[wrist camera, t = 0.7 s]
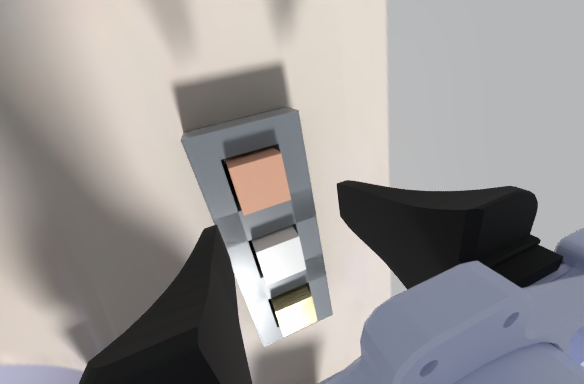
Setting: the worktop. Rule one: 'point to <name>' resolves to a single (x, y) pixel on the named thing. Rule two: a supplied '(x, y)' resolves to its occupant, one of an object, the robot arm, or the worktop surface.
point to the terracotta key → (259, 179)
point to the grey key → (279, 254)
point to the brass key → (294, 309)
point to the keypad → (240, 229)
